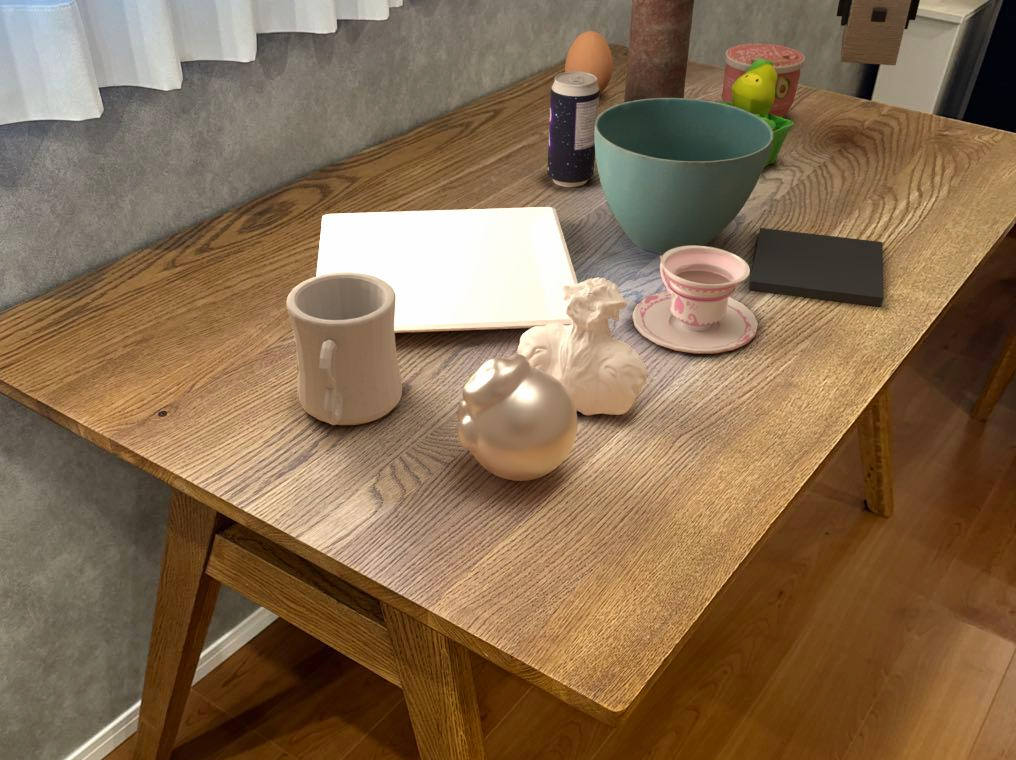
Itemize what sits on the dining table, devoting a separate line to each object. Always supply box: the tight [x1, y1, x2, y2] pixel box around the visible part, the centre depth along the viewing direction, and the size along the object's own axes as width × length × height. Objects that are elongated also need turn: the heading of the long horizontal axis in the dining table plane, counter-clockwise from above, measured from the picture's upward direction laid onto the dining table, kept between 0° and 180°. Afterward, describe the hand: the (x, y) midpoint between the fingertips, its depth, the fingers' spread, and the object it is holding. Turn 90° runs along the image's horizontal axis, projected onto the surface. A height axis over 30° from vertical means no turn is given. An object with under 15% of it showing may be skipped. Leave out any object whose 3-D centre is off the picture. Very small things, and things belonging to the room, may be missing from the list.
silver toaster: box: [840, 0, 911, 66], centre depth 124 cm, size 6×12×8 cm, turn 164°
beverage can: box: [546, 71, 601, 188], centre depth 121 cm, size 6×6×12 cm
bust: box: [517, 276, 649, 416], centre depth 87 cm, size 12×8×11 cm
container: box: [721, 43, 806, 118], centre depth 139 cm, size 10×10×8 cm
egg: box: [564, 30, 614, 95], centre depth 145 cm, size 7×7×9 cm
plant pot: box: [594, 97, 773, 255], centre depth 109 cm, size 18×18×12 cm
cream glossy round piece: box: [457, 353, 578, 482], centre depth 79 cm, size 9×10×10 cm
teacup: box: [631, 245, 759, 354], centre depth 97 cm, size 12×12×6 cm
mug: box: [285, 272, 403, 426], centre depth 85 cm, size 12×9×10 cm
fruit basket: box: [718, 59, 794, 168], centre depth 127 cm, size 11×9×11 cm
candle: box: [623, 0, 695, 103], centre depth 124 cm, size 8×7×20 cm
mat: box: [748, 227, 884, 307], centre depth 107 cm, size 13×13×1 cm
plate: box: [315, 206, 579, 334], centre depth 105 cm, size 26×26×2 cm
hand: (873, 23), depth 125 cm, fingers closed on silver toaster, 6 cm apart
